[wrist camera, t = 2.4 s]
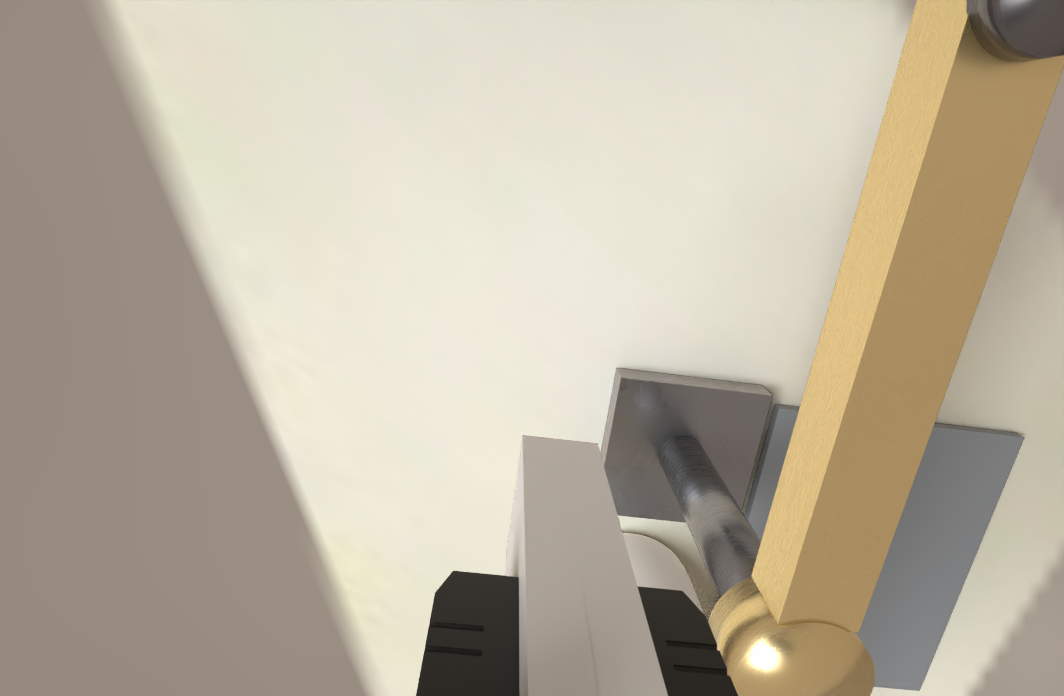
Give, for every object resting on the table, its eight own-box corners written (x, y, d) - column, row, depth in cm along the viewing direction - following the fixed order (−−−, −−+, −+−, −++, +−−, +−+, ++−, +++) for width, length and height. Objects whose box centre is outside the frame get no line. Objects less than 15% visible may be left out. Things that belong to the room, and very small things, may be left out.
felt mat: (774, 404, 34) (779, 408, 33) (1016, 432, 35) (1024, 437, 34) (703, 663, 39) (706, 671, 39) (913, 683, 40) (919, 690, 39)
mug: (707, 670, 39) (769, 843, 30) (581, 697, 40) (601, 876, 30) (673, 513, 36) (732, 650, 26) (535, 544, 36) (542, 691, 26)
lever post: (616, 367, 33) (679, 507, 20) (761, 385, 33) (913, 532, 21) (592, 498, 35) (634, 697, 22) (727, 512, 36) (845, 716, 23)
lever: (892, -65, 15) (992, -121, 12) (1063, -36, 15) (1204, -84, 12) (617, 958, 27) (630, 1067, 23) (716, 964, 27) (742, 1073, 24)
